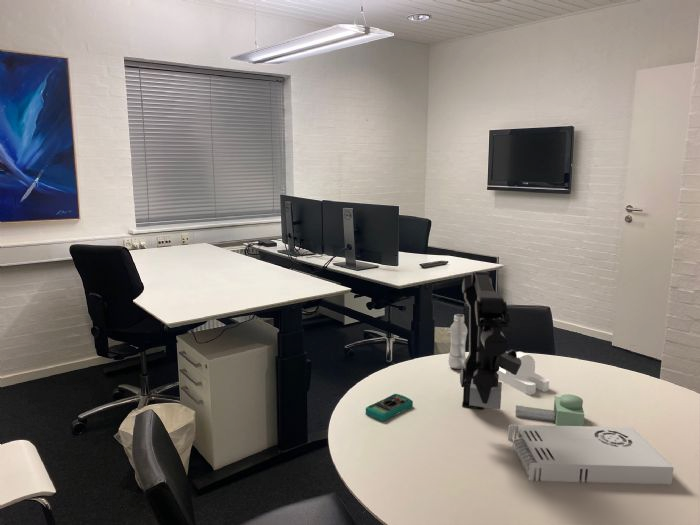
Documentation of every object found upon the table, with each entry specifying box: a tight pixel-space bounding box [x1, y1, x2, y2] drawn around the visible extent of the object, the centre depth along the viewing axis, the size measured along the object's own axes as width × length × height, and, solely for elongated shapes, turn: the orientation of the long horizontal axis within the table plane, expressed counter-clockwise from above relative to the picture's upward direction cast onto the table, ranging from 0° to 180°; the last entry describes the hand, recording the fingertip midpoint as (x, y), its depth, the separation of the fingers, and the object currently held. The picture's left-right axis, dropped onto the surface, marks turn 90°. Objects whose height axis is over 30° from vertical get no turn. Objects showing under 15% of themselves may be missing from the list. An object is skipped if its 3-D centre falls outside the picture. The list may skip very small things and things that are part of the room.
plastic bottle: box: [447, 313, 468, 370], centre depth 188 cm, size 6×7×20 cm
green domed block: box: [515, 393, 585, 426], centre depth 150 cm, size 18×10×7 cm, turn 73°
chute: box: [469, 379, 503, 410], centre depth 139 cm, size 8×6×5 cm
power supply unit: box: [507, 424, 675, 485], centre depth 129 cm, size 19×33×5 cm, turn 88°
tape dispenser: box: [497, 351, 550, 396], centre depth 176 cm, size 10×18×11 cm, turn 25°
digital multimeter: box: [365, 393, 414, 422], centre depth 156 cm, size 7×15×3 cm, turn 136°
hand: (485, 398), depth 139 cm, fingers closed on chute, 6 cm apart
